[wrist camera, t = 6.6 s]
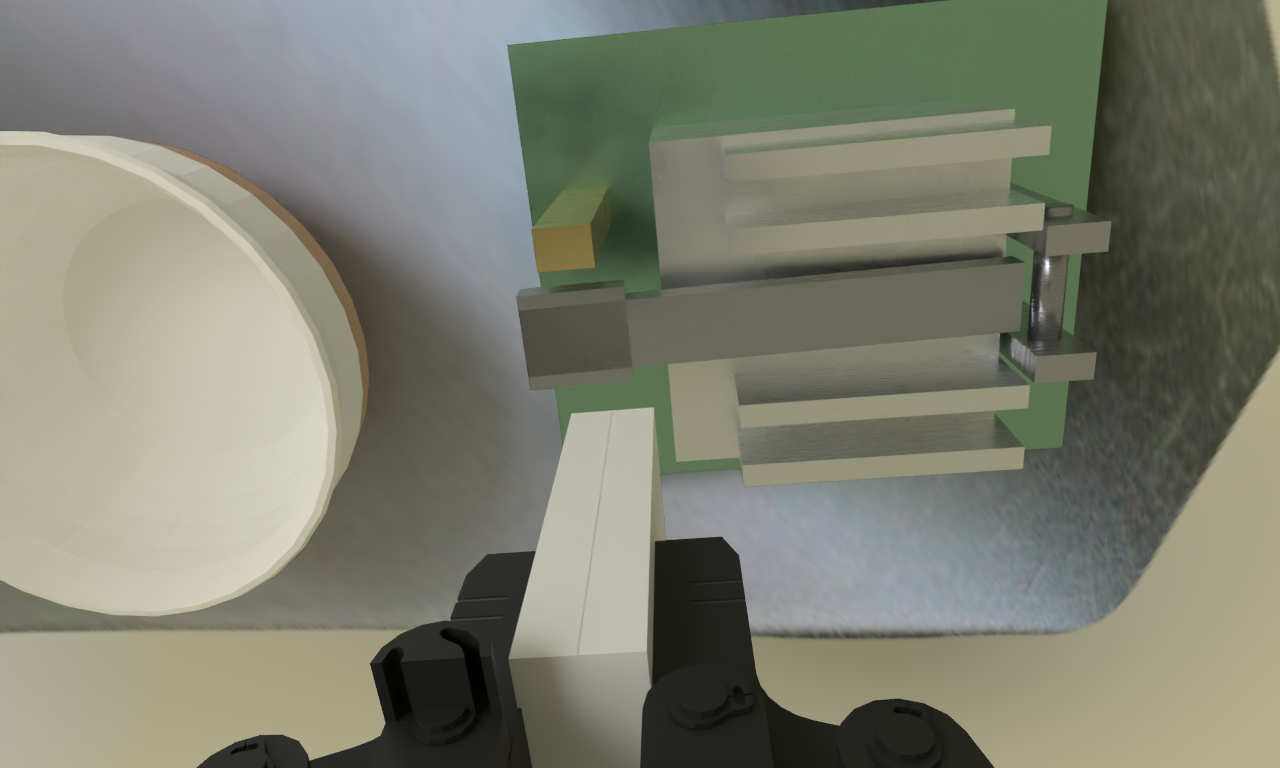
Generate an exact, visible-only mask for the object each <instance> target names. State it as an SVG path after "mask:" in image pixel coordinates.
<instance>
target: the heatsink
mask: <svg viewBox="0 0 1280 768" xmlns="http://www.w3.org/2000/svg"><path fill="white" fill-rule="evenodd" d="M1106 10H1107V0H948V1H938V2H928V3H918V4H908V5H899V6H889V7H879V8H869V9H859V10H849V11H839V12H829V13H820V14H810V15H800V16H790V17H780V18H770V19H760V20H751V21H741V22H731V23H721V24H711V25H701V26H691V27H681V28H672V29H662V30H652V31H642V32H632V33H622V34H612V35H602V36H593V37H583V38H573V39H563V40H553V41H543V42H533V43H524V44H514V45H507V46H508V53H509V60H510V68H511V75H512V82H513V89H514V96H515V103H516V111H517V118H518V125H519V132H520V139H521V147H522V154H523V161H524V168H525V175H526V182H527V190H528V197H529V204H530V211H531V218H532V225H533V228H532V236H533V243H534V250H535V258H536V265H537V272H539V276H540V283H541V287H549V286H560V285H570V284H581V283H591V282H602V281H612V280H623V279H624V283H625V293H630V292H640V291H651V290H661V289H672V288H682V287H693V286H703V285H714V284H724V283H735V282H745V281H756V280H766V279H777V278H787V277H798V276H808V275H819V274H829V273H840V272H850V271H861V270H871V269H882V268H892V267H903V266H913V265H924V264H934V263H945V262H955V261H966V260H976V259H987V258H997V257H1008V256H1014V257H1016V258H1018V259H1020V260H1022V261H1024V262H1025V274H1024V287H1023V300H1022V313H1021V326H1020V331H1016V332H1006V333H995V334H985V335H974V336H963V337H953V338H942V339H931V340H921V341H910V342H899V343H889V344H878V345H867V346H857V347H846V348H835V349H825V350H814V351H804V352H793V353H782V354H772V355H761V356H750V357H740V358H729V359H718V360H708V361H697V362H686V363H676V364H665V365H654V366H644V367H633V372H634V381H623V382H613V383H602V384H591V385H581V386H570V387H559V388H555V391H556V398H557V405H558V412H559V419H560V426H561V434H562V441H563V444H564V440H565V436H566V433H567V429H568V425H569V421H570V417H571V413H584V412H598V411H611V410H625V409H638V408H652V407H654V413H655V423H656V434H657V445H658V455H659V466H660V474H663V473H678V472H693V471H709V470H724V469H739V468H741V473H742V479H743V485H744V487H747V486H763V485H778V484H794V483H810V482H825V481H841V480H856V479H872V478H888V477H903V476H919V475H934V474H950V473H966V472H981V471H997V470H1012V469H1023V463H1024V451H1025V450H1029V449H1044V448H1059V447H1062V444H1063V435H1064V425H1065V415H1066V405H1067V395H1068V385H1069V381H1077V380H1091V379H1094V372H1095V363H1096V354H1097V352H1096V351H1094V350H1093V349H1091V348H1090V347H1089V346H1087V345H1086V344H1084V343H1083V342H1082V341H1080V340H1079V339H1077V338H1076V337H1074V326H1075V316H1076V306H1077V296H1078V287H1079V277H1080V267H1081V257H1082V254H1083V253H1095V252H1107V251H1108V247H1109V239H1110V230H1111V221H1110V220H1108V219H1105V218H1103V217H1100V216H1097V215H1095V214H1092V213H1089V212H1087V211H1086V208H1087V198H1088V188H1089V178H1090V168H1091V158H1092V148H1093V139H1094V129H1095V119H1096V109H1097V99H1098V89H1099V79H1100V69H1101V60H1102V50H1103V40H1104V30H1105V20H1106Z"/></svg>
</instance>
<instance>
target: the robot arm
mask: <svg viewBox="0 0 1280 768" xmlns="http://www.w3.org/2000/svg"><path fill="white" fill-rule="evenodd" d="M370 665H371V669H372V672H373V676H374V680H375V684H376V688H377V692H378V696H379V700H380V703H381V707H382V711H383V715H384V719H385V722H386V724H385V726H384V729H383V731H382V734H381V736H379V737H377V738H375V739H374V740H372V741H369V742H366V743H364V744H361V745H359V746H356V747H353V748H350V749H347V750H343V751H340V752H337V753H333V754H330V755H327V756H324V757H321V758H317V759H314V760H310V761H309V758H308V754H307V753H306V751H305V750H304V748H303V747H302V745H301V744H300V742H299V741H297V740H294V739H292V738H289V737H287V736H284V735H259V736H256V737H252V738H249V739H245V740H242V741H239V742H235V743H233V744H232V745H230V746H228V747H226V748H224V749H222V750H221V751H219V752H217V753H215V754H213V755H211V756H210V757H209V758H207V760H205V761H204V762H203V763H202V764H200V765H199V766H198V767H197V768H994V767H993V765H992V764H991V763H990V761H989V760H988V759H987V758H986V756H985V755H984V754H983V752H982V751H981V750H980V749H979V747H978V746H977V745H976V744H975V742H974V741H973V740H972V739H971V737H970V736H969V735H968V733H967V732H966V731H965V730H964V729H963V728H962V727H961V726H960V725H958V724H957V723H956V722H955V721H954V720H953V719H952V718H951V717H950V716H948V715H947V714H945V713H943V712H941V711H939V710H937V709H934V708H933V707H930V706H928V705H926V704H924V703H919V702H914V701H909V700H903V699H889V700H875V701H872V702H870V703H868V704H865V705H863V706H861V707H859V708H856V709H854V710H853V711H852V712H851V713H850V714H849V715H848V716H847V717H846V719H845V720H844V721H843V722H842V723H841V725H840V726H838V725H833V724H828V723H823V722H818V721H814V720H811V719H808V718H804V717H801V716H798V715H795V714H793V713H791V712H790V711H788V710H786V709H784V708H782V707H780V706H779V705H778V704H777V703H776V702H774V701H773V700H772V699H770V697H768V695H767V694H766V693H765V691H764V690H763V688H762V687H761V686H760V683H759V680H758V677H757V674H756V669H755V662H754V656H753V648H752V642H751V635H750V628H749V621H748V614H747V607H746V602H745V594H744V587H743V582H742V573H741V567H740V560H739V555H738V554H737V553H736V552H735V551H734V550H733V548H732V547H731V546H730V545H729V544H728V543H727V542H726V541H725V540H724V539H723V537H710V538H695V539H679V540H666V530H665V519H664V509H663V498H662V487H661V477H660V466H659V455H658V445H657V434H656V423H655V413H654V407H652V408H638V409H625V410H611V411H598V412H584V413H571V417H570V421H569V425H568V429H567V433H566V436H565V440H564V444H563V448H562V452H561V456H560V460H559V464H558V468H557V472H556V475H555V479H554V483H553V487H552V491H551V495H550V499H549V503H548V507H547V510H546V514H545V518H544V522H543V526H542V530H541V534H540V538H539V542H538V546H537V549H536V551H531V552H515V553H500V554H487V555H486V556H485V557H484V558H483V559H482V560H481V561H480V562H479V563H478V564H477V565H476V566H475V567H474V568H473V569H472V570H471V571H470V572H469V573H468V574H467V575H466V578H465V580H464V583H463V586H462V588H461V591H460V594H459V596H458V603H456V604H455V607H454V610H453V612H452V615H451V621H441V622H436V623H430V624H425V625H421V626H419V627H416V628H414V629H411V630H409V631H407V632H404V633H402V634H400V635H399V636H397V637H396V638H394V639H393V640H392V641H390V642H389V643H388V644H386V645H385V646H383V647H382V648H381V650H380V651H379V652H378V654H377V655H376V656H375V658H374V659H373V660H372V662H371V663H370Z"/></svg>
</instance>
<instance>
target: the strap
mask: <svg viewBox="0 0 1280 768" xmlns="http://www.w3.org/2000/svg"><path fill="white" fill-rule="evenodd" d="M1024 274H1025V262H1024V261H1022V260H1020V259H1018V258H1016V257H1014V256H1008V257H997V258H987V259H976V260H966V261H955V262H945V263H934V264H924V265H913V266H903V267H892V268H882V269H871V270H861V271H850V272H840V273H829V274H819V275H808V276H798V277H787V278H777V279H766V280H756V281H745V282H735V283H724V284H714V285H703V286H693V287H682V288H672V289H661V290H651V291H640V292H630V293H625V283H624V279H623V280H612V281H602V282H591V283H581V284H570V285H560V286H549V287H539V288H528V289H520V290H519V292H518V294H517V304H518V310H519V317H520V323H521V330H522V337H523V343H524V350H525V357H526V363H527V370H528V376H529V383H530V390H538V389H549V388H559V387H570V386H581V385H591V384H602V383H613V382H623V381H634V372H633V367H644V366H654V365H665V364H676V363H686V362H697V361H708V360H718V359H729V358H740V357H750V356H761V355H772V354H782V353H793V352H804V351H814V350H825V349H835V348H846V347H857V346H867V345H878V344H889V343H899V342H910V341H921V340H931V339H942V338H953V337H963V336H974V335H985V334H995V333H1006V332H1016V331H1020V326H1021V313H1022V300H1023V287H1024Z"/></svg>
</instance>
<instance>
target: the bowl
mask: <svg viewBox="0 0 1280 768" xmlns="http://www.w3.org/2000/svg"><path fill="white" fill-rule="evenodd" d="M369 378H370V377H369V368H368V360H367V351H366V343H365V337H364V334H363V331H362V328H361V325H360V322H359V319H358V315H357V312H356V309H355V306H354V303H353V300H352V298H351V296H350V294H349V292H348V290H347V289H346V287H345V285H344V283H343V281H342V279H341V277H340V276H339V274H338V272H337V270H336V268H335V266H334V265H333V263H332V261H331V260H330V258H329V257H328V256H327V254H326V253H325V252H324V251H323V249H322V248H321V247H320V246H319V244H318V243H317V242H316V241H315V239H314V238H313V237H312V235H311V234H310V233H309V232H308V230H307V229H306V228H305V227H304V225H303V224H302V223H301V222H299V221H298V220H297V219H296V218H295V217H294V216H293V215H292V214H291V213H289V212H288V211H287V210H286V209H285V208H284V207H283V206H282V205H281V204H279V203H278V202H277V201H276V200H275V199H274V198H273V197H272V196H271V195H270V194H268V193H267V192H265V191H264V190H262V189H261V188H259V187H258V186H256V185H254V184H253V183H251V182H250V181H248V180H247V179H245V178H243V177H242V176H240V175H239V174H237V173H236V172H234V171H232V170H231V169H229V168H228V167H225V166H223V165H220V164H218V163H215V162H213V161H211V160H208V159H206V158H203V157H201V156H199V155H196V154H194V153H191V152H189V151H187V150H184V149H179V148H175V147H170V146H165V145H161V144H156V143H151V142H147V141H142V140H135V139H125V138H119V137H114V136H80V135H63V136H61V135H57V134H52V133H47V132H25V131H0V580H1V581H3V582H5V583H7V584H9V585H11V586H13V587H15V588H17V589H19V590H21V591H24V592H27V593H30V594H33V595H36V596H38V597H41V598H44V599H47V600H50V601H53V602H56V603H59V604H61V605H64V606H68V607H73V608H78V609H84V610H89V611H94V612H99V613H105V614H110V615H131V616H162V615H169V614H176V613H183V612H190V611H197V610H201V609H204V608H207V607H210V606H213V605H216V604H219V603H222V602H225V601H228V600H230V599H233V598H236V597H239V596H242V595H244V594H246V593H247V592H249V591H250V590H252V589H254V588H255V587H257V586H259V585H260V584H262V583H264V582H265V581H267V580H269V579H270V578H272V577H274V576H275V575H277V574H278V573H279V572H280V571H281V570H282V569H283V568H284V567H285V566H286V565H287V564H288V563H289V562H290V561H291V560H292V559H293V558H294V557H295V556H296V555H297V554H298V553H299V552H300V551H301V550H302V549H303V548H304V547H305V546H306V544H307V543H308V541H309V540H310V538H311V536H312V535H313V533H314V532H315V530H316V528H317V527H318V525H319V524H320V522H321V520H322V519H323V517H324V515H325V514H326V512H327V508H328V505H329V502H330V499H331V496H332V493H333V490H334V489H335V487H336V485H337V484H338V482H339V480H340V479H341V477H342V476H343V474H344V472H345V471H346V469H347V467H348V465H349V462H350V459H351V456H352V453H353V451H354V448H355V446H356V443H357V440H358V437H359V434H360V431H361V428H362V425H363V421H364V418H365V415H366V410H367V399H368V388H369Z"/></svg>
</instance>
